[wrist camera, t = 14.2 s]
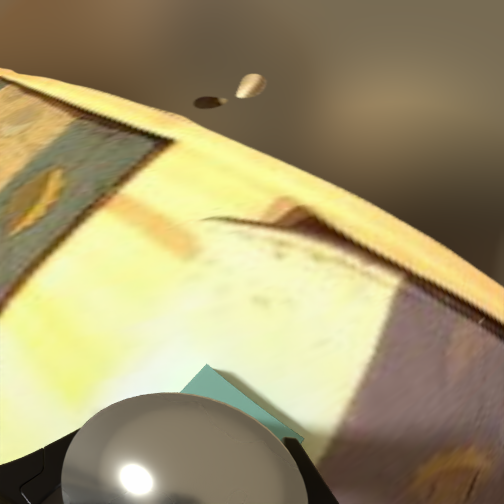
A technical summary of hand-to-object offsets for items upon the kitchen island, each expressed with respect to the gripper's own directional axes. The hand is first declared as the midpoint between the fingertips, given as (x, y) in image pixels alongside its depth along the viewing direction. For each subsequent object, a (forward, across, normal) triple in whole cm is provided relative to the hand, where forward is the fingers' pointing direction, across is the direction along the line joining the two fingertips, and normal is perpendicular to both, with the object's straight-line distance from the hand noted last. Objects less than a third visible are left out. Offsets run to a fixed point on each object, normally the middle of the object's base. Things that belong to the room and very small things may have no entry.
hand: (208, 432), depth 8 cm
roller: (+4, 0, +6) cm, 7 cm away
